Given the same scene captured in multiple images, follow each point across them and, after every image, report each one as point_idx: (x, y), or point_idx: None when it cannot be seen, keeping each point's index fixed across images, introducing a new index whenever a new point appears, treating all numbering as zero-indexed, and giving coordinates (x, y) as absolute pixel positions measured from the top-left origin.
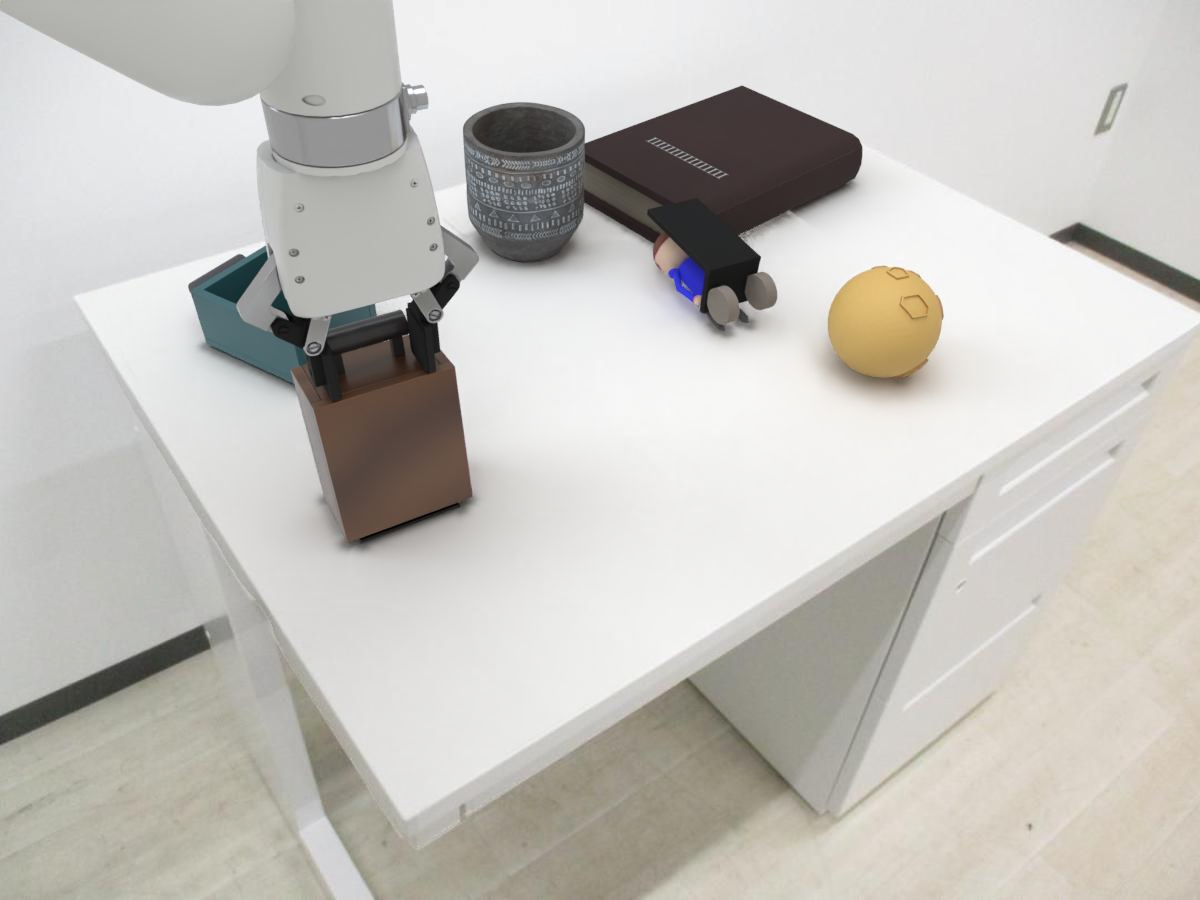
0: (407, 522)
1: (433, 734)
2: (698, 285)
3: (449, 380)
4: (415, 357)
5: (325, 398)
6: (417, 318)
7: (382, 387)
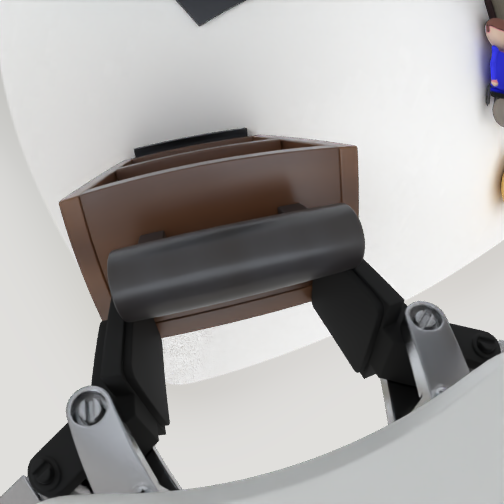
0: None
1: (186, 365)
2: (501, 75)
3: None
4: None
5: None
6: (373, 353)
7: (233, 320)
